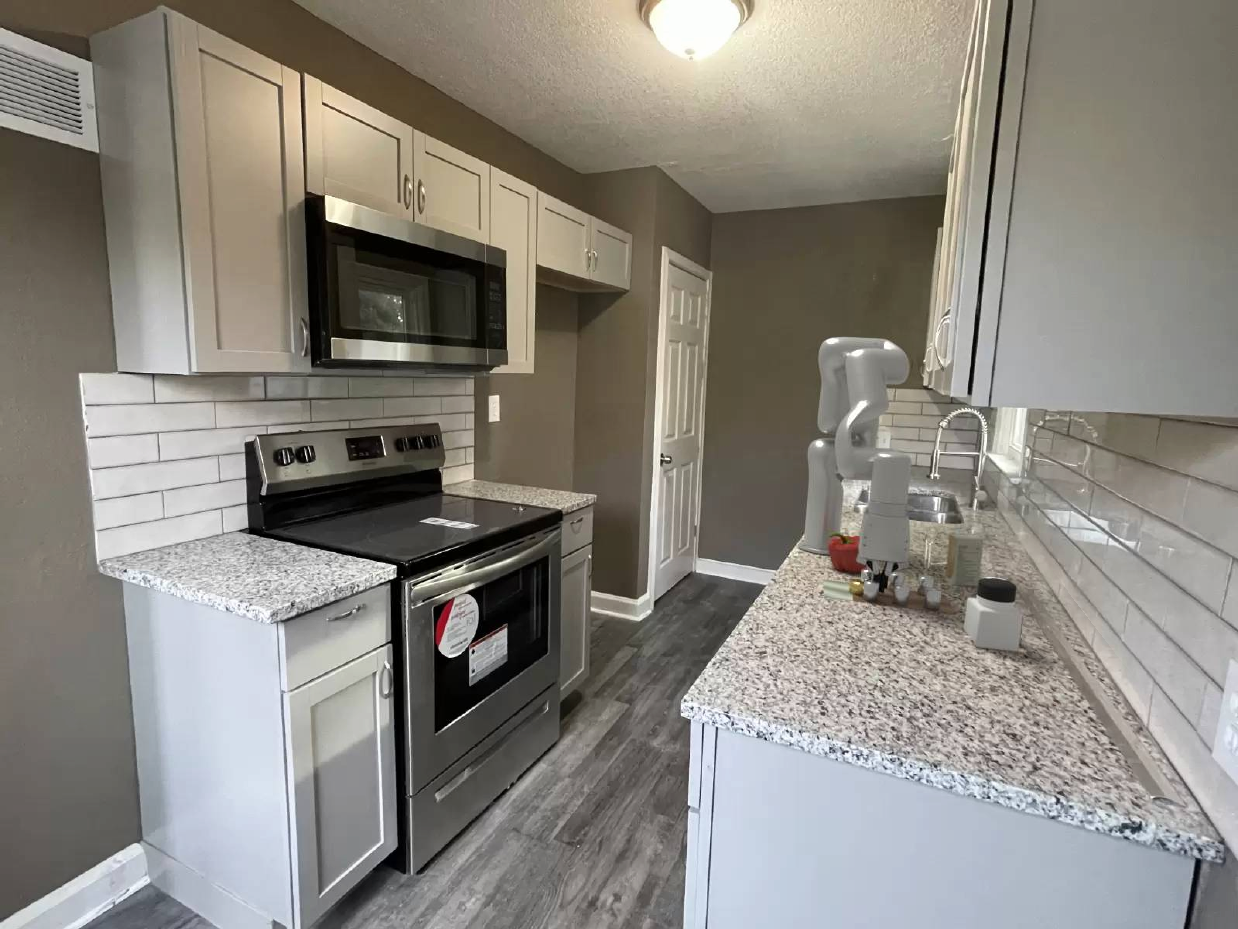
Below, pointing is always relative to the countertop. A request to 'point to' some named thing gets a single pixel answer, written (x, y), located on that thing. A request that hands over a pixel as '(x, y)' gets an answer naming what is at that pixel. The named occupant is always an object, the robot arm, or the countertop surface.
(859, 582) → the brass knob
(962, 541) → the skincare box
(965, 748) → the countertop surface
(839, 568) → the vegetable
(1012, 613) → the medicine bottle
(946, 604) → the board
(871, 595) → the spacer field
